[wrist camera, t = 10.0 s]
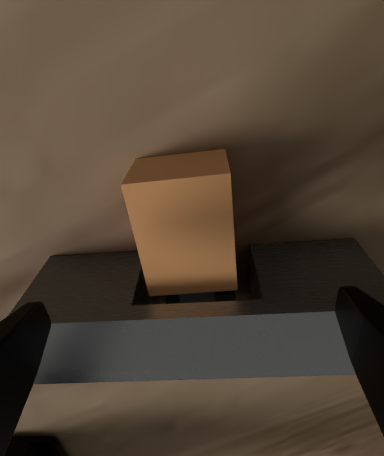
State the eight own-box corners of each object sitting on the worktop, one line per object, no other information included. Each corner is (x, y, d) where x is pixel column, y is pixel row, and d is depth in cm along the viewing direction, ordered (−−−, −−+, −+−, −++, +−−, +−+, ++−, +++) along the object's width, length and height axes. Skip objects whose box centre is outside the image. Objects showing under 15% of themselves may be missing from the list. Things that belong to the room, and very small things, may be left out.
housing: (341, 296, 18) (384, 373, 14) (71, 309, 19) (35, 384, 15) (354, 238, 16) (409, 307, 12) (50, 256, 17) (1, 325, 13)
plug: (235, 312, 19) (241, 355, 16) (170, 316, 19) (165, 359, 16) (225, 148, 14) (230, 172, 11) (135, 158, 14) (120, 184, 11)
